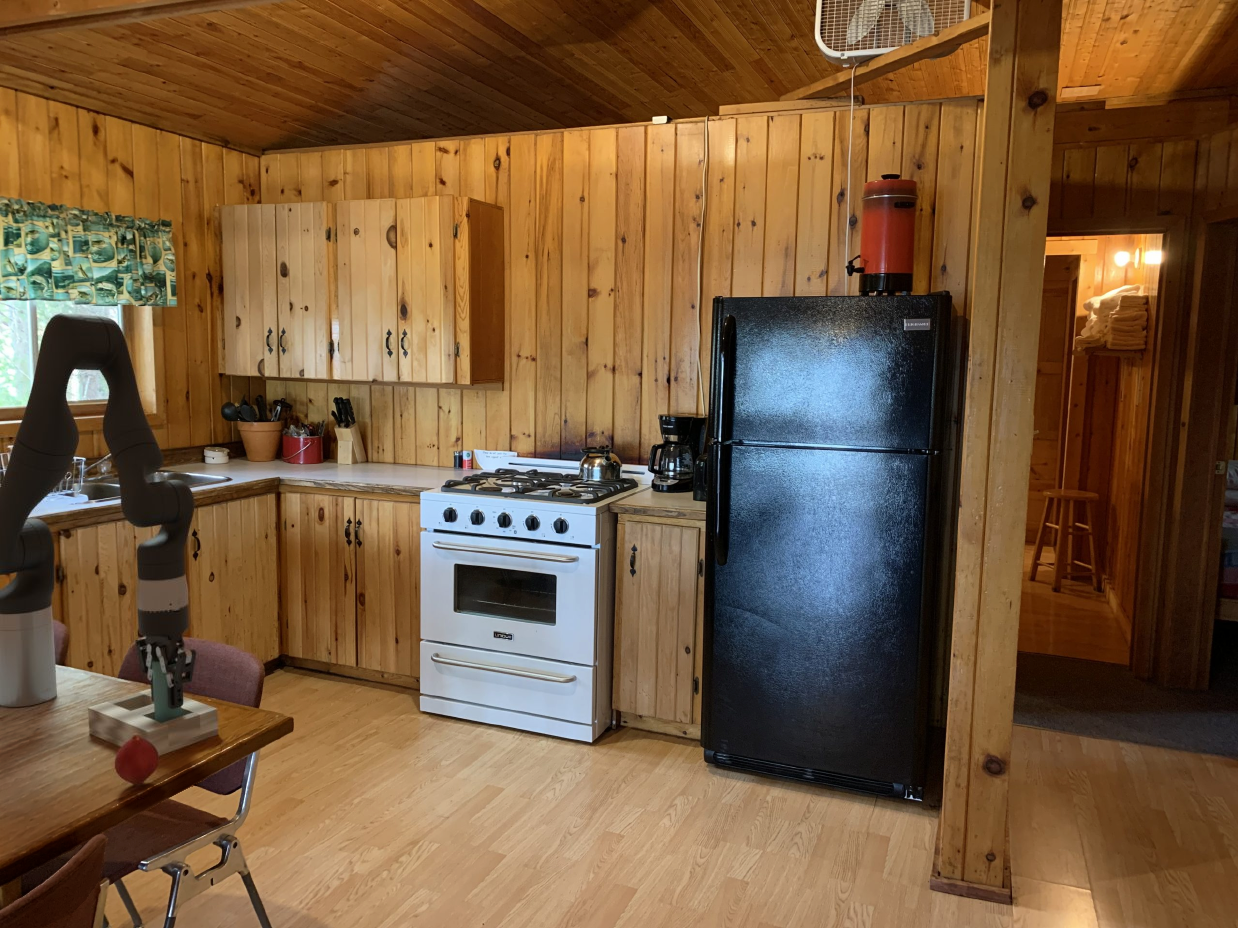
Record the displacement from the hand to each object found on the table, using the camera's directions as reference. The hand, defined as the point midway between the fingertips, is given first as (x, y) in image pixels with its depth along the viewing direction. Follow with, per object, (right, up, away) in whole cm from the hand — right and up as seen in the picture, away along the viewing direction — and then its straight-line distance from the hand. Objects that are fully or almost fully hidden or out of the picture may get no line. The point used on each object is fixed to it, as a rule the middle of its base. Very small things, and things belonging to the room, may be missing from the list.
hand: (167, 703), depth 156 cm
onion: (+3, -8, -16) cm, 18 cm away
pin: (0, -5, +1) cm, 5 cm away
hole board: (-4, -6, +3) cm, 8 cm away
